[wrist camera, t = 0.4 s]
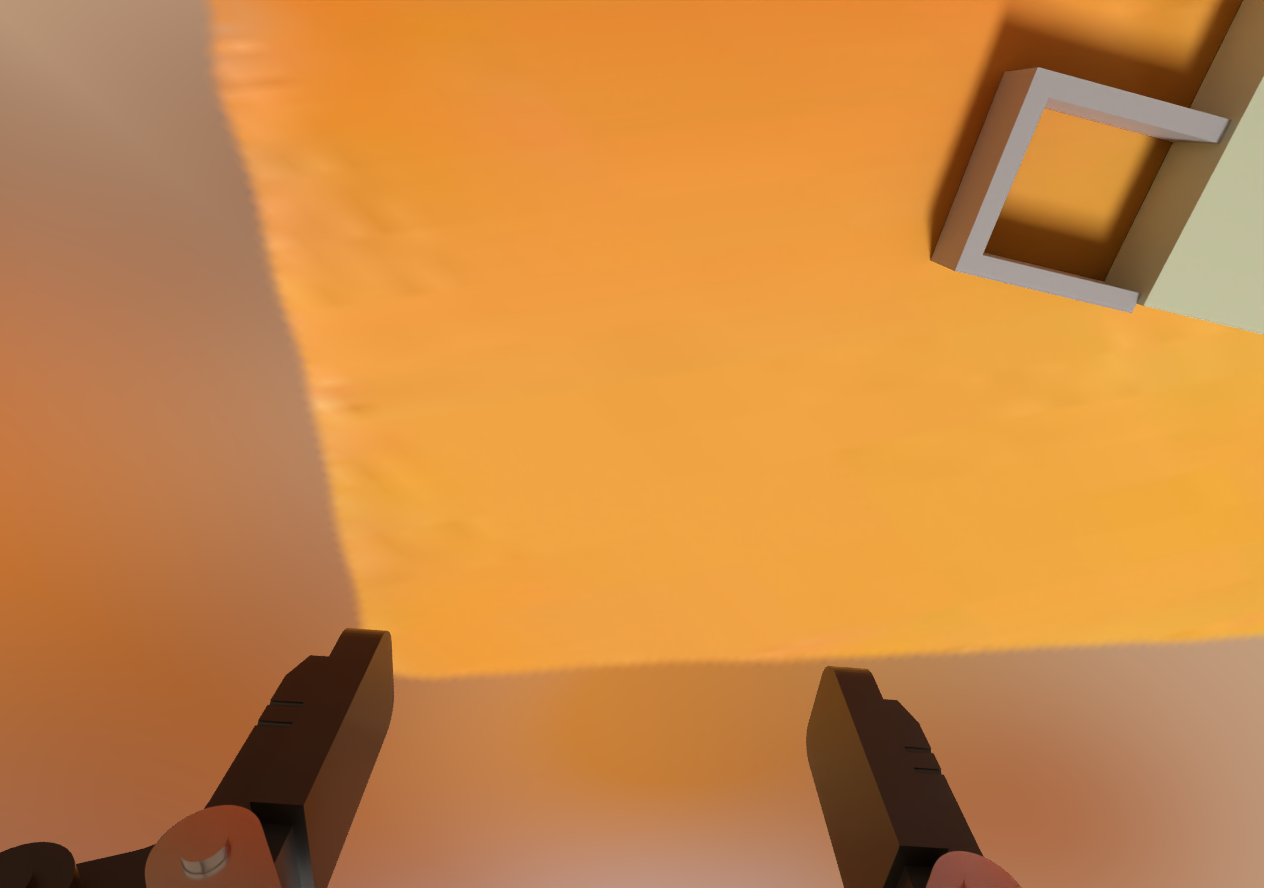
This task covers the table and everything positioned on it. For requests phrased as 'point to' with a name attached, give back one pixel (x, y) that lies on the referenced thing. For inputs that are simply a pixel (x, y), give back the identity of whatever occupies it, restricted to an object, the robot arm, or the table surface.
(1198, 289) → the green base with arch
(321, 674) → the robot arm
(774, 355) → the table surface
